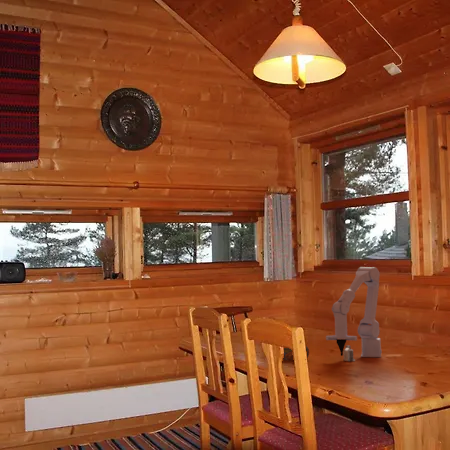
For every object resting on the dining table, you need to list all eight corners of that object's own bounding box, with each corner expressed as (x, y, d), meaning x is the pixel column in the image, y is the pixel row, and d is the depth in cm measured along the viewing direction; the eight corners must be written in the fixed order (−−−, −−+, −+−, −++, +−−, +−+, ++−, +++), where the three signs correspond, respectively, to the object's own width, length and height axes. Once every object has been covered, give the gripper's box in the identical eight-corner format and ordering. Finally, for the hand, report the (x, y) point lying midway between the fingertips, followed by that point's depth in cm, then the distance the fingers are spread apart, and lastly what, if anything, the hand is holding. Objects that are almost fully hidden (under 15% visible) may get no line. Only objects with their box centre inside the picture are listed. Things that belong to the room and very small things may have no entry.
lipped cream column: (345, 356, 306) (345, 347, 306) (350, 357, 305) (349, 347, 305) (343, 360, 296) (343, 350, 296) (347, 360, 295) (347, 350, 296)
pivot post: (353, 356, 308) (352, 345, 309) (352, 357, 304) (352, 346, 304) (344, 356, 310) (343, 345, 310) (343, 357, 305) (343, 346, 306)
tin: (278, 360, 304) (278, 342, 304) (281, 358, 307) (280, 341, 307) (308, 361, 297) (307, 344, 297) (310, 360, 300) (309, 343, 300)
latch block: (355, 359, 299) (354, 349, 300) (354, 361, 294) (354, 350, 295) (348, 359, 300) (348, 349, 300) (347, 361, 295) (347, 350, 295)
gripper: (324, 327, 296) (325, 356, 296) (355, 328, 293) (356, 357, 292) (326, 326, 303) (327, 354, 303) (356, 326, 299) (357, 354, 299)
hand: (341, 355), depth 298 cm, fingers closed
